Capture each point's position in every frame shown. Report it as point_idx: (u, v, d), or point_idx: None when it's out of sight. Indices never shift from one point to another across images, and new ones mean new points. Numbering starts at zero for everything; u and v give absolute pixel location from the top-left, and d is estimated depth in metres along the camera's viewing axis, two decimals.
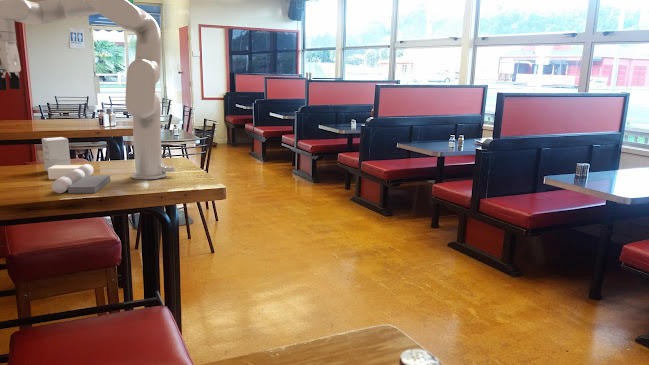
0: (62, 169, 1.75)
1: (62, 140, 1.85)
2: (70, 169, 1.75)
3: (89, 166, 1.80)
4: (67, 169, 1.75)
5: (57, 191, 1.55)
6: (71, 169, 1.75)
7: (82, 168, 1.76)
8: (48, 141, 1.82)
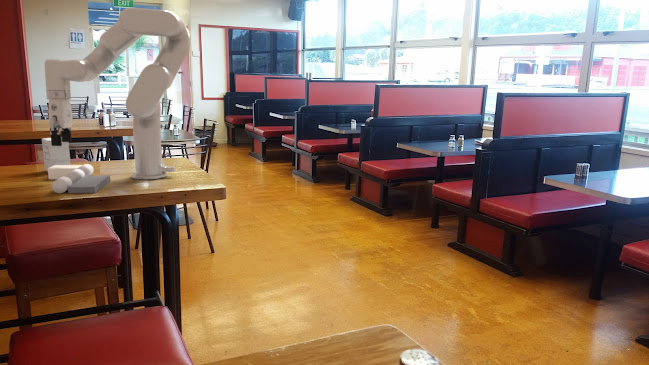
0: (62, 169, 1.75)
1: None
2: (70, 169, 1.75)
3: (89, 166, 1.80)
4: (67, 169, 1.75)
5: (57, 191, 1.55)
6: (71, 169, 1.75)
7: (82, 168, 1.76)
8: (48, 141, 1.82)
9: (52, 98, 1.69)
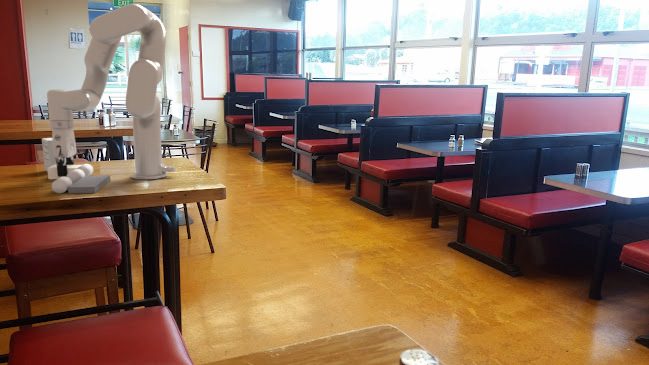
0: None
1: None
2: (70, 169, 1.75)
3: (89, 166, 1.80)
4: (67, 169, 1.75)
5: (57, 191, 1.55)
6: (71, 169, 1.75)
7: (82, 168, 1.76)
8: (48, 141, 1.82)
9: (55, 128, 1.71)
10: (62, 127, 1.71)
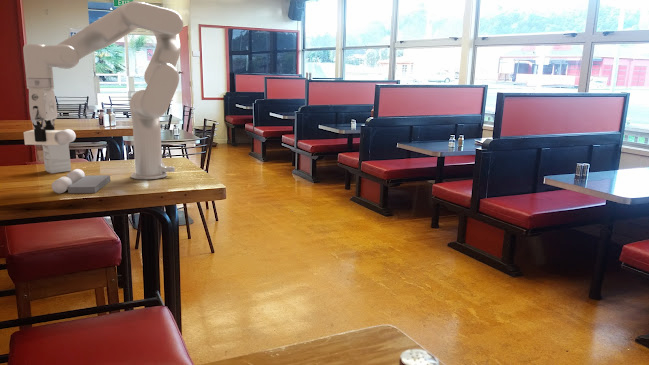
0: None
1: None
2: (48, 133, 1.57)
3: (70, 131, 1.62)
4: None
5: (57, 191, 1.55)
6: (50, 133, 1.57)
7: (62, 132, 1.58)
8: None
9: (32, 87, 1.53)
10: (40, 86, 1.54)
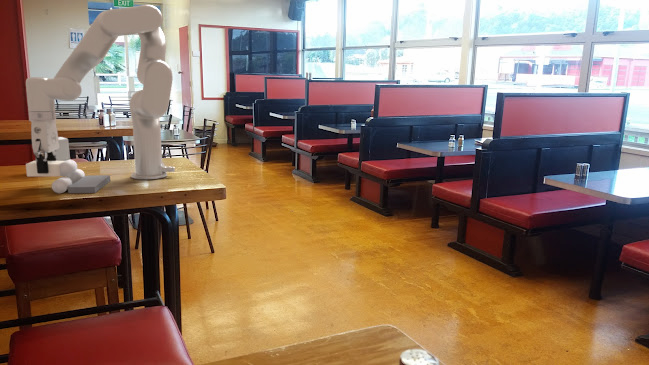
0: None
1: (62, 140, 1.85)
2: (51, 165, 1.59)
3: (72, 162, 1.64)
4: None
5: (57, 191, 1.55)
6: (52, 165, 1.59)
7: (64, 164, 1.59)
8: None
9: (35, 120, 1.55)
10: (42, 119, 1.55)
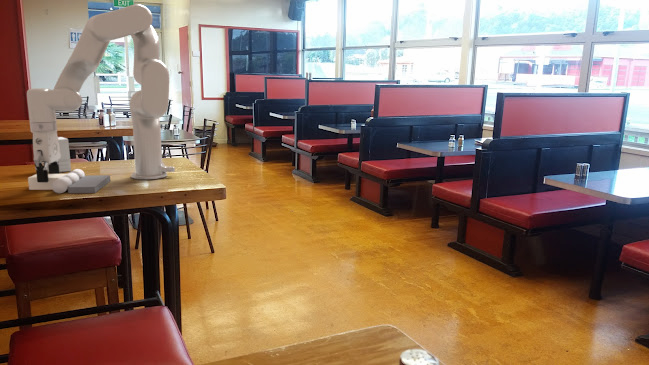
0: None
1: (62, 140, 1.85)
2: (52, 179, 1.60)
3: (74, 175, 1.65)
4: (49, 179, 1.60)
5: (57, 191, 1.55)
6: (54, 179, 1.60)
7: None
8: None
9: (36, 131, 1.55)
10: (44, 130, 1.56)
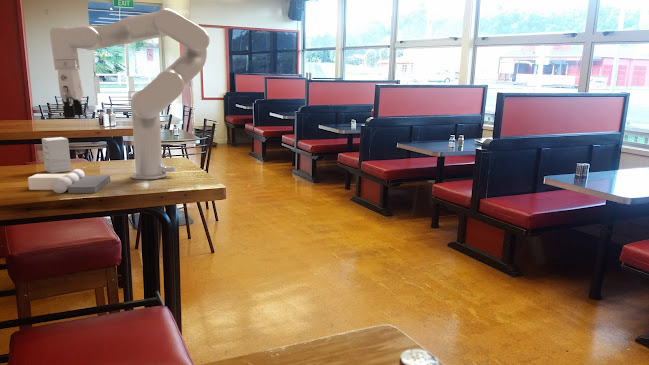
0: (44, 178, 1.59)
1: (62, 140, 1.85)
2: (52, 178, 1.60)
3: (74, 175, 1.65)
4: (49, 178, 1.60)
5: (57, 191, 1.55)
6: (54, 178, 1.60)
7: None
8: (48, 141, 1.82)
9: (61, 68, 1.62)
10: (68, 67, 1.63)
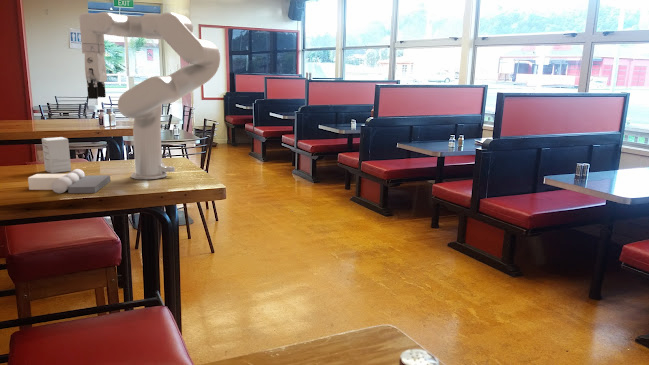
0: (44, 179, 1.59)
1: (62, 140, 1.85)
2: (52, 179, 1.60)
3: (74, 175, 1.65)
4: (49, 179, 1.60)
5: (57, 191, 1.55)
6: (54, 179, 1.60)
7: None
8: (48, 141, 1.82)
9: (88, 51, 1.73)
10: (94, 50, 1.73)
